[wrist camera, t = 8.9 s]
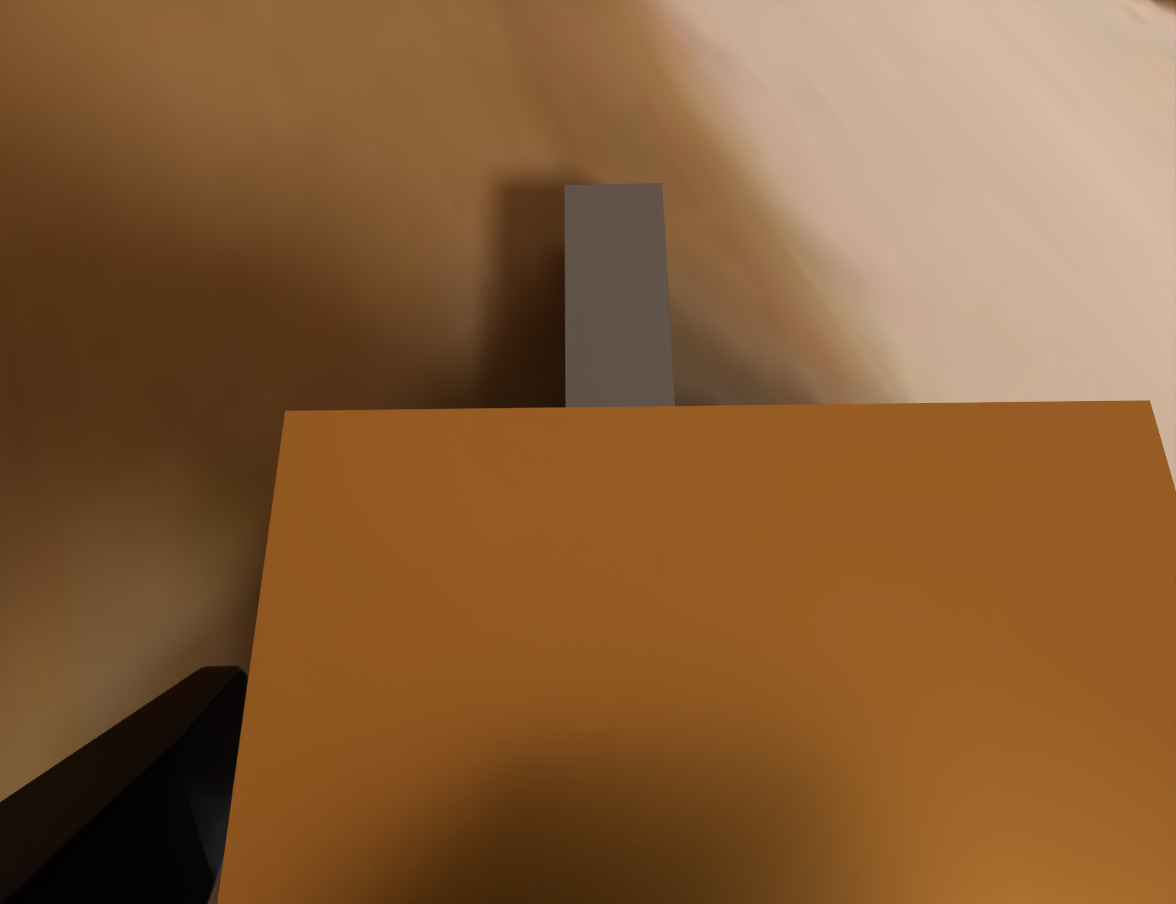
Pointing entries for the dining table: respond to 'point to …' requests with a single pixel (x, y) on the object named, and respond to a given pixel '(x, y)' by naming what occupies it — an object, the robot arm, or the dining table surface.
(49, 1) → the dining table surface
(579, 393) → the square socket
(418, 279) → the dining table surface
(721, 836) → the orange square peg
